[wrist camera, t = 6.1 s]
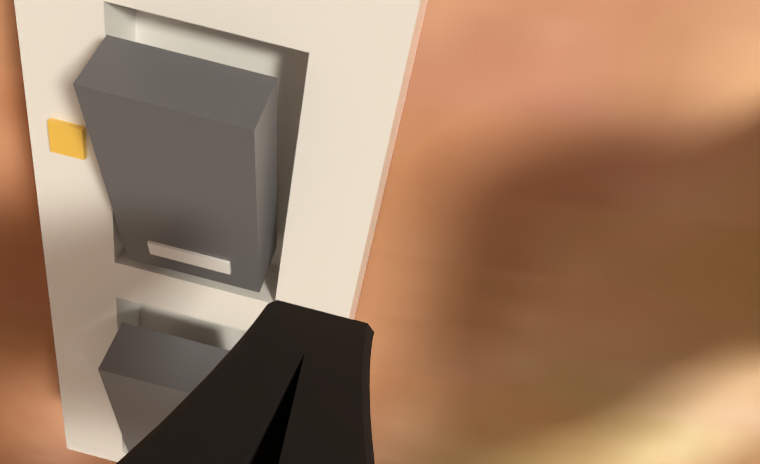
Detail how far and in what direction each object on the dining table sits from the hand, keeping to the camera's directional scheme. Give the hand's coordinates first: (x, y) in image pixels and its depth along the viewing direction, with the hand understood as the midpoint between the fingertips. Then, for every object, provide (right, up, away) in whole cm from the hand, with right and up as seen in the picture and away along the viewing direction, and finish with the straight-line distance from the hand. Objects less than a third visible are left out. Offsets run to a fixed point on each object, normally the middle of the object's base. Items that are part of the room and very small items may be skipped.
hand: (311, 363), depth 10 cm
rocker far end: (-5, -3, +11) cm, 12 cm away
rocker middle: (-3, +3, +6) cm, 8 cm away
